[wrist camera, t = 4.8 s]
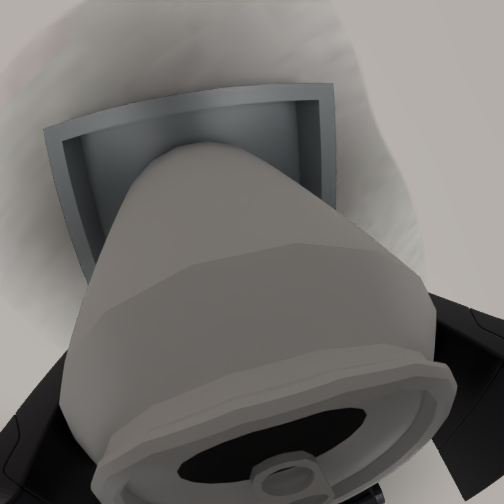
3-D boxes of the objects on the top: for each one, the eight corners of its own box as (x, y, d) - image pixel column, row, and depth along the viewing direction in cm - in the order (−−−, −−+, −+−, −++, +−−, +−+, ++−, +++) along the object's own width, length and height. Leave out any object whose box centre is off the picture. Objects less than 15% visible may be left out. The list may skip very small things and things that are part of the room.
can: (261, 117, 12) (553, 219, 2) (296, 260, 16) (437, 461, 6) (97, 176, 12) (-64, 435, 1) (161, 309, 16) (186, 550, 5)
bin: (309, 281, 19) (330, 310, 16) (124, 319, 17) (120, 355, 14) (304, 85, 13) (333, 83, 11) (67, 123, 11) (43, 128, 9)
